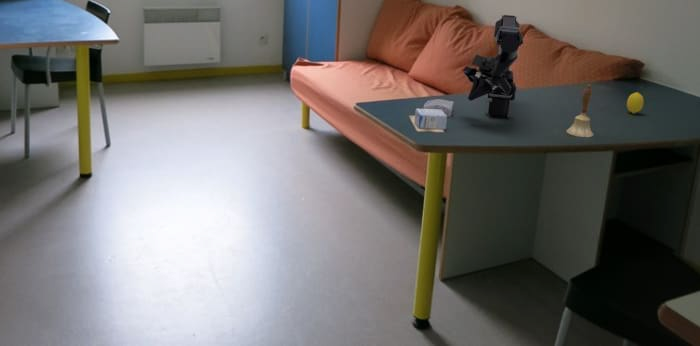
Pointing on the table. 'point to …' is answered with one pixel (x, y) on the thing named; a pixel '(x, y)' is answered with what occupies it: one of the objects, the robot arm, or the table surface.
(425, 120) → the medicine box
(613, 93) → the table surface
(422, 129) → the cork pad
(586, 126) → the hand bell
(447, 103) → the stone block
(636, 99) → the lemon
